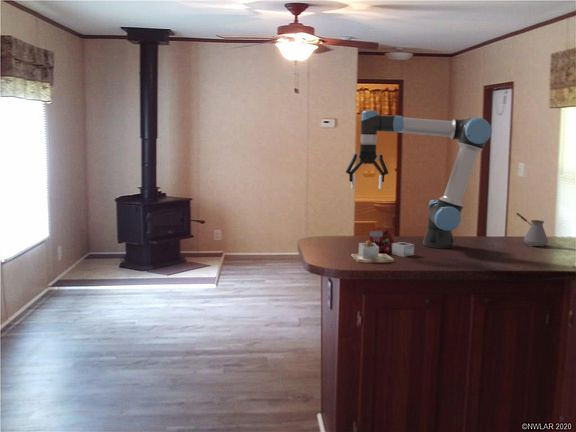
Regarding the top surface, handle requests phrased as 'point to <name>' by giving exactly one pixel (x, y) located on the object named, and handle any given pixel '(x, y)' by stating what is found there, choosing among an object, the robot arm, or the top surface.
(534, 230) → the coffee pot
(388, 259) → the keeper
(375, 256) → the white square box
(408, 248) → the white block with hole
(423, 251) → the top surface
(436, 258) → the top surface
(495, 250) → the top surface
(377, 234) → the toy fire truck
